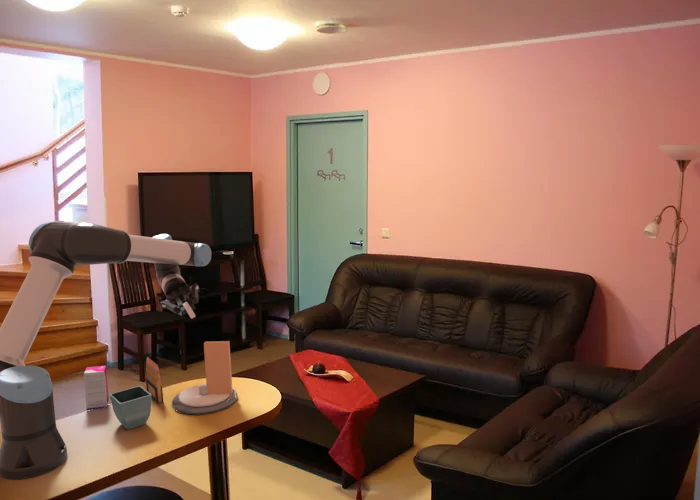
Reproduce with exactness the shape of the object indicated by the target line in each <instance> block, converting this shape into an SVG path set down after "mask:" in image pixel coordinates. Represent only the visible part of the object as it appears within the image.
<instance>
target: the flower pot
mask: <svg viewBox="0 0 700 500" xmlns="http://www.w3.org/2000/svg"><path fill="white" fill-rule="evenodd" d="M109 398H110V402H111V403H110V404H111V406H112V411H113V413H114V415H115V418H116V419H117V421H119V423H120V424H121V425H122V427H124V428H125V429H126V430H131V429H134V428H137V427H141V426H143V425H146V423H147V421H148V420H149V418H150V416H151V411H152V398H151V394H150V393H149V392H148V391H147V389H145V388H144V387H143V386H141V385H137V386H133V387H130V388H126V389H124V390H120V391H116V392H112V393H109Z"/></svg>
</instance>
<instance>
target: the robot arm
mask: <svg viewBox="0 0 700 500" xmlns="http://www.w3.org/2000/svg"><path fill="white" fill-rule="evenodd" d="M28 246H29V248H28V249H29V253H30V254H29V257H28V262H29V263H30V266H31V267H30V268H29V270H28V272H27V274H26V277H25V278H24V280H23V282H22V284H21V286H20V289H19V290H18V292H17V294H16V296H15V297H14V300H13V302H12V304H11V306H10V308H9V310H8V312H7V314H6V316H5V317H4V319H3V322H2V323H1V324H0V325H1V326H0V430H1V437H2V440H1V445H0V477H2V478H4V479H8V480H21V479H22V480H23V479H30V478H34V477H38V476H41V475H44V474H47V473H49V472H51V471H53V470H55V469H57V468H59V467H60V466H61V465H63V464H64V462H65V461H66V460H67V458H68V449H67V448H68V447H67V445H66V443H65V441H64V439H63V437H62V435H61V434H60V432H59V429H58V428H57V424H56V423H57V422H56V413H55V411H56V410H55V403H54V402H55V401H54V392H53V388H54V387H53V383H52V379H51V376H50V373H49V371H48V370H46V369H45V368H43V367H41V366H38V365H31V364H30V365H29V364H28V365H26V364H25V360H26V357H27V356H28V354H29V351H30V349H31V347H32V345H33V343H34V341H35V339H36V337H37V335H38V333H39V330H40V329H41V326H42V324H43V322H44V320H45V318H46V316H47V314H48V312H49V309H50V308H51V306H52V303H53V301H54V300H55V297H56V295H57V293H58V291H59V289H60V287H61V285H62V282H63V281H64V279H67V278H69V277H72V275H73V274H74V272H75V269H76V267H77V265H79V266H88V265H89V266H91V265H106V264H115V265H116V264H117V265H119V264H123V263H125V262H126V261H127V262H137V263H138V262H139V263H152V264H154V270H155V273H156V275H155V276H156V277H155V278H156V281H157V284H159V286H160V288H161V290H162V291H163V293H164V294H165V296H166V298H165V300H161V301H160V305H161V307H162V308H163V310H169V312H172V313H174V314H176V315H180V313H181V312H182V314H183V315H187V314H188V316H189V318H190V319H194V318H196V313H195V312H194V310H196V306H195V305H197V304H198V303H199V291H200V290H201V289H200V287H199V285H198V284H197V282H195V283H193V284H192V285H188V284H187V282H186V281H185V279H184V277H183V276H182V275H181V271H180V267H179V266H191V267H193V266H194V267H205V266H208V265H209V263H210V262H211V260H212V249H211V248H210V246H209V244H206V243H202V242H189V241H182V240H175V239H174V240H173V238H172V236H171V235H170V234H168V233H160V234H158V235H154V236H152V237H151V236H143V235H135V234H129V233H128V231H125V230H124V229H118V228H112V227H108V226H103V225H100V224H95V223H90V222H84V221H83V222H76V221H73V222H72V221H63V220H53V221H47V222H43V223H41V224H39V225H38V226H36V228H35V229H34V230H33V231H32V232H31V234H30V236H29V239H28ZM190 295H191V297H189V296H190ZM183 301H185V302H183ZM176 304H177V305H176Z"/></svg>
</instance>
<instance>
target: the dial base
mask: <svg viewBox="0 0 700 500" xmlns="http://www.w3.org/2000/svg"><path fill="white" fill-rule="evenodd" d="M236 389H237V388H235V387H234V388H232V391H233V392H232V394H230V396H229V398H228V399H226V400H225V401H223V402H221V403H218V404H215V405H211V406H206V407H190V406H185V405H183V404H181V403H180V401H179V395H180V393H181V392H179V393H177V394H175V396H174V397H173V399H172V400H171V401H172V402H171V403H172V408H174V409H175V410H174V409H173V410H174V411H176V410H177V411H179V412H181V413H180V414H182V413H184V414H183V415H188V414H192V415H191V416H200V415H201V414H202V415H209V414H210V415H211V414H215V413H219V412H222V411H224V410H227V409H229V408H231V407H232V406H233V405H234V404H235V403H236V402H237V400H238V393H237V390H236ZM177 411H176V412H177ZM179 412H178V413H179ZM198 414H199V415H198ZM202 415H201V416H202Z"/></svg>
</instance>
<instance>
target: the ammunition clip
mask: <svg viewBox="0 0 700 500" xmlns="http://www.w3.org/2000/svg"><path fill="white" fill-rule="evenodd" d="M145 366H146V369H145V376H146V377H145V383H146V385H145V387H146V391H148V392H149V393H150V394H151V400H153V401H154V402H155V403H156V404H157V405H159V404H162V403H164V394H163V385H162V381H161V379H162V378H161V375H160V368H159V365H158V364H156V362H154V360H153V359H151V358H150V357H149V356H146V362H145Z"/></svg>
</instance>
